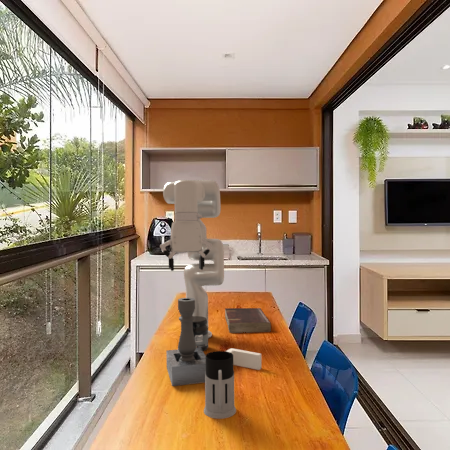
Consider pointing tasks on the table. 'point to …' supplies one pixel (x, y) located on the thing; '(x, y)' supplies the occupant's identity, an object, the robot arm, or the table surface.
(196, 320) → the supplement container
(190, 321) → the candle holder
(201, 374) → the gray hollow block
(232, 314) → the hardback book
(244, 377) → the table surface
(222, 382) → the glass holder
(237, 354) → the angle bracket
